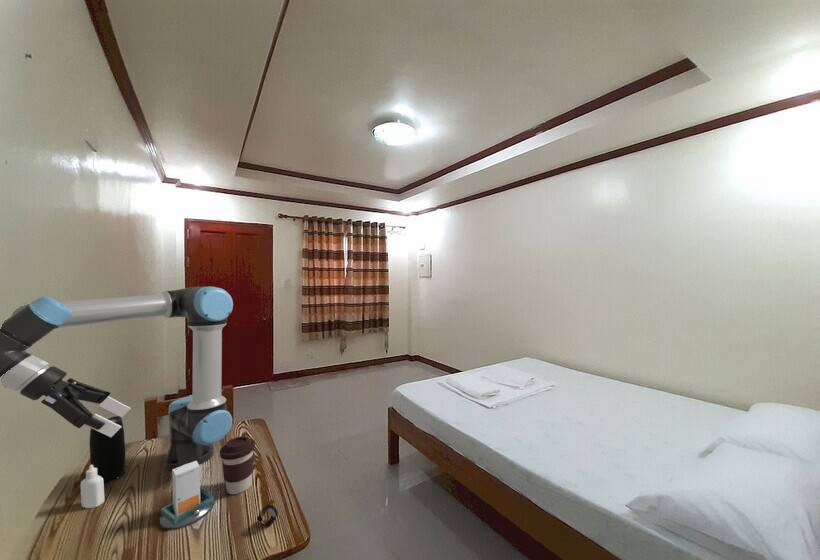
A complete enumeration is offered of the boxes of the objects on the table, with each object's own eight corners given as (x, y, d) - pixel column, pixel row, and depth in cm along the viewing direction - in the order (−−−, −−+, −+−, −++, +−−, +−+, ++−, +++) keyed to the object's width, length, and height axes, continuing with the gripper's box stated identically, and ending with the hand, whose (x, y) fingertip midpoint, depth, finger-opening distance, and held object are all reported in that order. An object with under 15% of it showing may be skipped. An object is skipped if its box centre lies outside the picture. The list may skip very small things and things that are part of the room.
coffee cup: (241, 500, 95) (239, 451, 94) (213, 496, 97) (211, 448, 96) (263, 478, 104) (261, 434, 104) (237, 475, 106) (235, 432, 106)
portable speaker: (123, 466, 114) (121, 412, 113) (128, 476, 108) (125, 420, 107) (89, 478, 107) (87, 421, 107) (93, 489, 101) (90, 430, 101)
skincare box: (176, 517, 87) (174, 475, 87) (173, 510, 90) (171, 469, 90) (201, 505, 91) (199, 465, 91) (198, 498, 94) (196, 459, 94)
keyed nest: (151, 518, 88) (150, 509, 88) (201, 490, 100) (200, 482, 100) (172, 537, 82) (172, 527, 82) (223, 504, 93) (223, 496, 93)
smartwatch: (279, 524, 85) (278, 506, 85) (258, 534, 82) (258, 515, 82) (274, 515, 88) (274, 498, 88) (255, 524, 85) (254, 506, 85)
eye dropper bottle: (100, 496, 98) (98, 458, 98) (105, 503, 95) (103, 464, 95) (80, 505, 94) (78, 466, 94) (85, 512, 91) (83, 472, 91)
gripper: (40, 377, 84) (118, 417, 93) (-11, 410, 63) (96, 456, 72) (67, 355, 87) (141, 395, 96) (27, 378, 66) (125, 427, 75)
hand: (121, 421), depth 84 cm, fingers open, 13 cm apart
